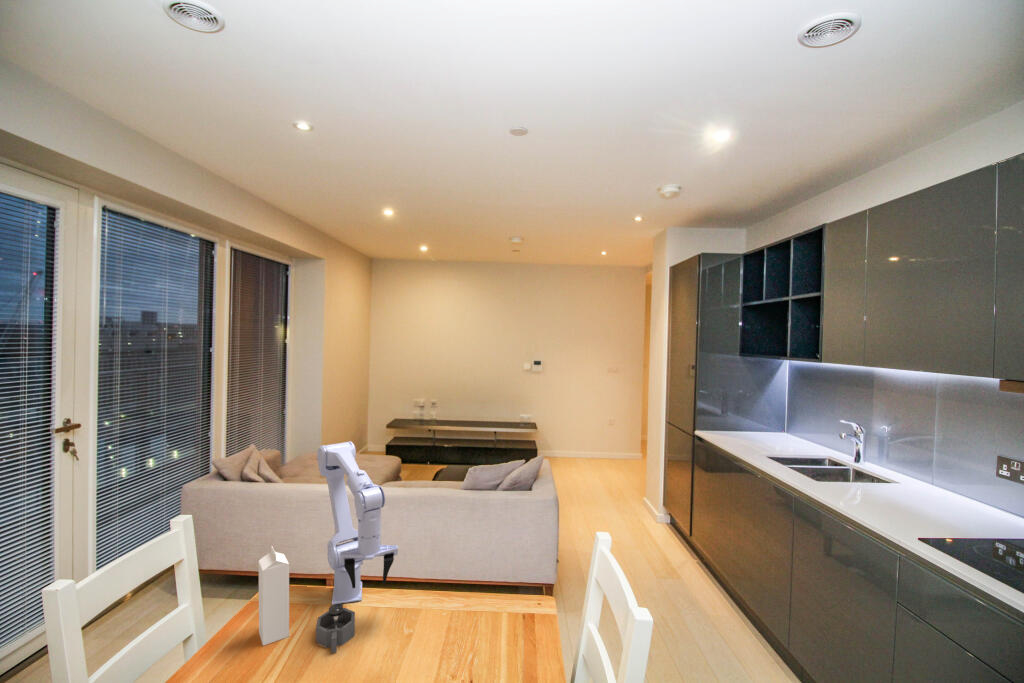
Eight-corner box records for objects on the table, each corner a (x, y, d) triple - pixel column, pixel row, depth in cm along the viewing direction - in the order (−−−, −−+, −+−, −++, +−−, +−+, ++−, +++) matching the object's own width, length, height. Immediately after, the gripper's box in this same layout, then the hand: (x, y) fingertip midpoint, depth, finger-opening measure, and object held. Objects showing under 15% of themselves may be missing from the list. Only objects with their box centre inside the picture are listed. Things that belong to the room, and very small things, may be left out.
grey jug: (318, 626, 122) (318, 611, 122) (355, 620, 125) (355, 606, 124) (313, 657, 111) (313, 640, 111) (353, 650, 114) (353, 634, 113)
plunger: (324, 627, 121) (324, 602, 121) (348, 623, 123) (349, 599, 122) (322, 642, 115) (322, 616, 115) (347, 638, 117) (347, 612, 117)
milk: (262, 646, 114) (261, 558, 113) (258, 632, 119) (257, 548, 118) (289, 636, 118) (289, 551, 117) (284, 623, 123) (284, 541, 122)
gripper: (339, 543, 117) (339, 596, 118) (398, 537, 121) (398, 588, 122) (340, 531, 124) (340, 581, 124) (397, 525, 128) (396, 574, 129)
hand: (369, 584), depth 124 cm, fingers open, 7 cm apart
